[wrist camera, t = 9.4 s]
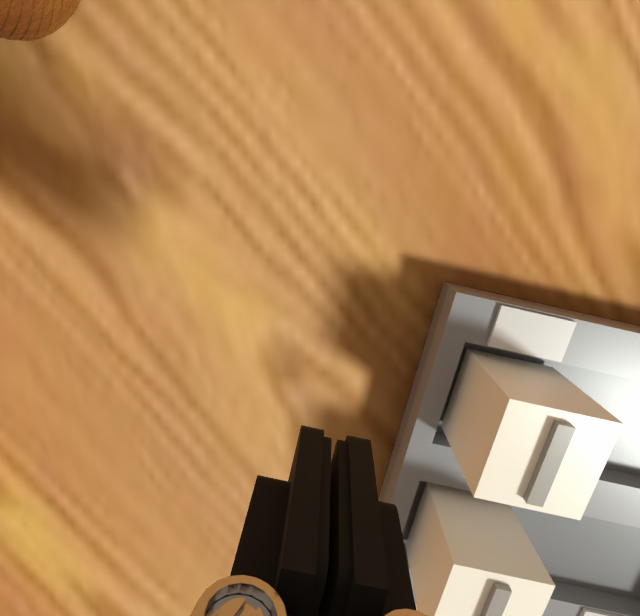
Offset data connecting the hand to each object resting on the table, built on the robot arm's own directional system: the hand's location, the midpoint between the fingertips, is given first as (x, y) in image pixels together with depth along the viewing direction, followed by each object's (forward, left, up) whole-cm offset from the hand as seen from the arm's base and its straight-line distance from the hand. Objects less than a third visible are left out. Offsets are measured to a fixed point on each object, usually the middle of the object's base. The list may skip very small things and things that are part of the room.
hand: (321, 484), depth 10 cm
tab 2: (-8, -8, -10) cm, 15 cm away
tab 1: (-1, -8, -10) cm, 13 cm away
